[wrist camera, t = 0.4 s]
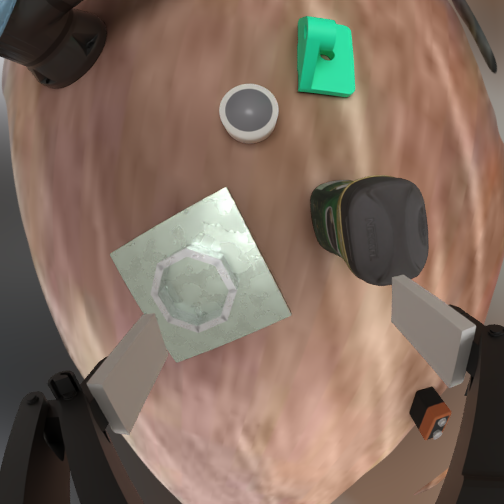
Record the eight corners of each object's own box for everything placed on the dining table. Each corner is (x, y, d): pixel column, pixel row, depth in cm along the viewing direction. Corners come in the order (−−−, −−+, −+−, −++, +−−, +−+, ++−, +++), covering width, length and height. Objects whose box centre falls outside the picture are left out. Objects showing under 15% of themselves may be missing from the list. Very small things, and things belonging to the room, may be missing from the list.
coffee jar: (368, 242, 39) (440, 282, 21) (316, 253, 40) (360, 305, 22) (358, 175, 37) (431, 169, 19) (304, 184, 38) (344, 181, 20)
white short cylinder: (215, 109, 36) (209, 99, 31) (261, 88, 35) (261, 75, 30) (238, 152, 37) (235, 147, 32) (285, 130, 36) (288, 122, 31)
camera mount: (349, 100, 35) (376, 76, 25) (297, 93, 35) (309, 64, 25) (346, 34, 32) (366, 0, 22) (296, 27, 33) (306, -11, 22)
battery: (408, 413, 47) (425, 444, 37) (416, 390, 45) (436, 421, 35) (424, 408, 46) (443, 437, 37) (433, 385, 45) (455, 414, 35)
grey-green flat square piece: (112, 252, 40) (100, 258, 36) (226, 187, 38) (223, 187, 34) (177, 359, 44) (171, 373, 40) (291, 312, 42) (293, 324, 38)
